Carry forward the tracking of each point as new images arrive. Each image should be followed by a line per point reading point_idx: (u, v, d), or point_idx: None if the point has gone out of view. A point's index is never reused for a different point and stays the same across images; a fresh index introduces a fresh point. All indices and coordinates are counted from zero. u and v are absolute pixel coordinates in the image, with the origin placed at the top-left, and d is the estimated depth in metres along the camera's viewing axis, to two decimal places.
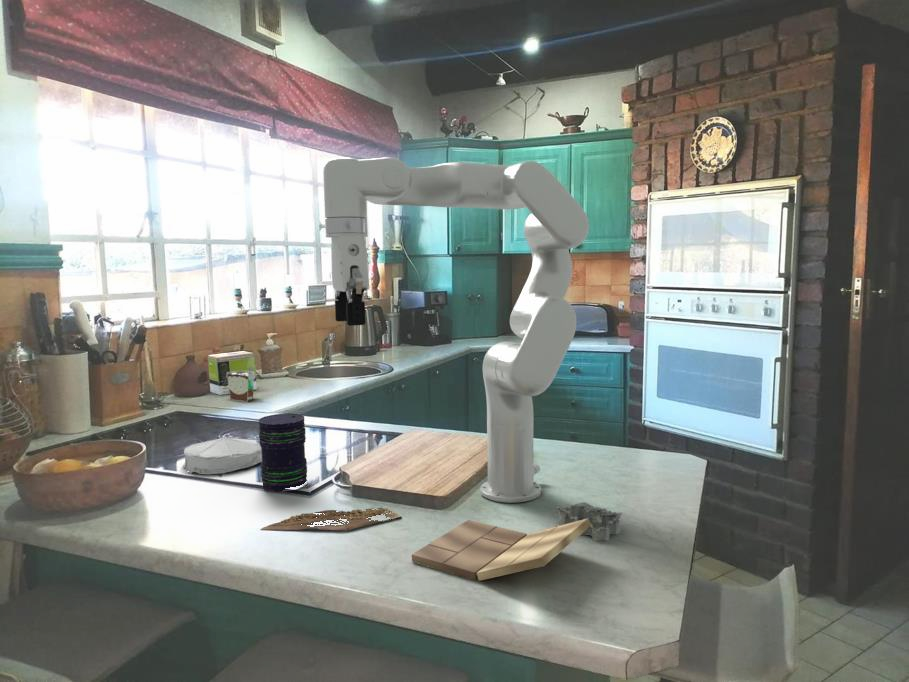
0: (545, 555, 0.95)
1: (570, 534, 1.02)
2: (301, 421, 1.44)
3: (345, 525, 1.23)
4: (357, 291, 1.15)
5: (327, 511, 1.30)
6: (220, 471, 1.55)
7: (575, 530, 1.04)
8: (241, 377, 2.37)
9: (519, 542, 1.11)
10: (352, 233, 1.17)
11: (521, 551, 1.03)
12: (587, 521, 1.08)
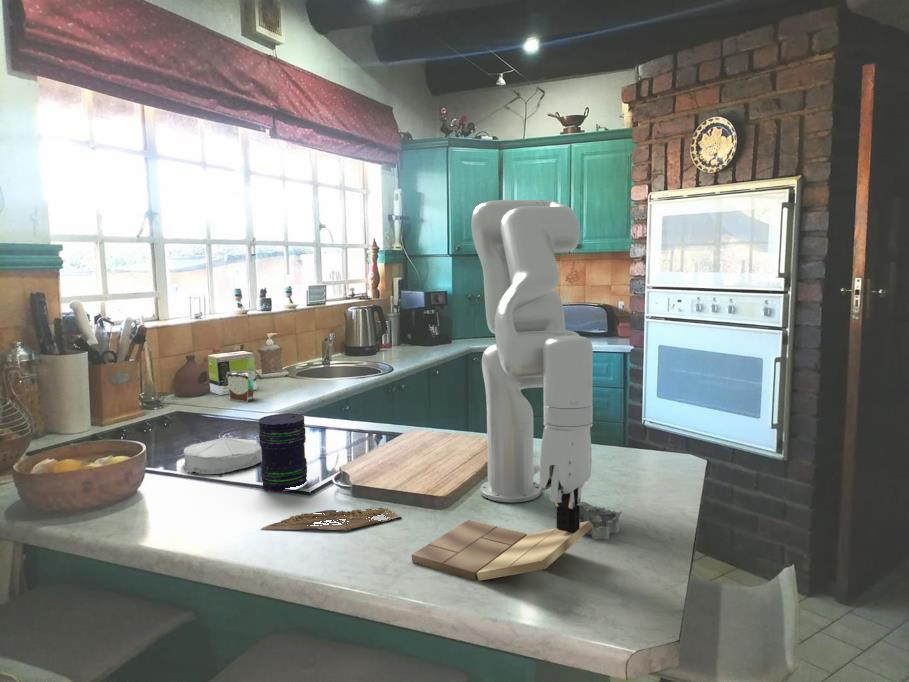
0: (546, 558, 0.95)
1: (571, 537, 1.02)
2: (301, 421, 1.44)
3: (345, 525, 1.22)
4: None
5: (327, 511, 1.30)
6: (220, 471, 1.55)
7: (576, 533, 1.04)
8: (241, 377, 2.37)
9: (519, 542, 1.11)
10: None
11: (521, 552, 1.03)
12: (588, 524, 1.08)
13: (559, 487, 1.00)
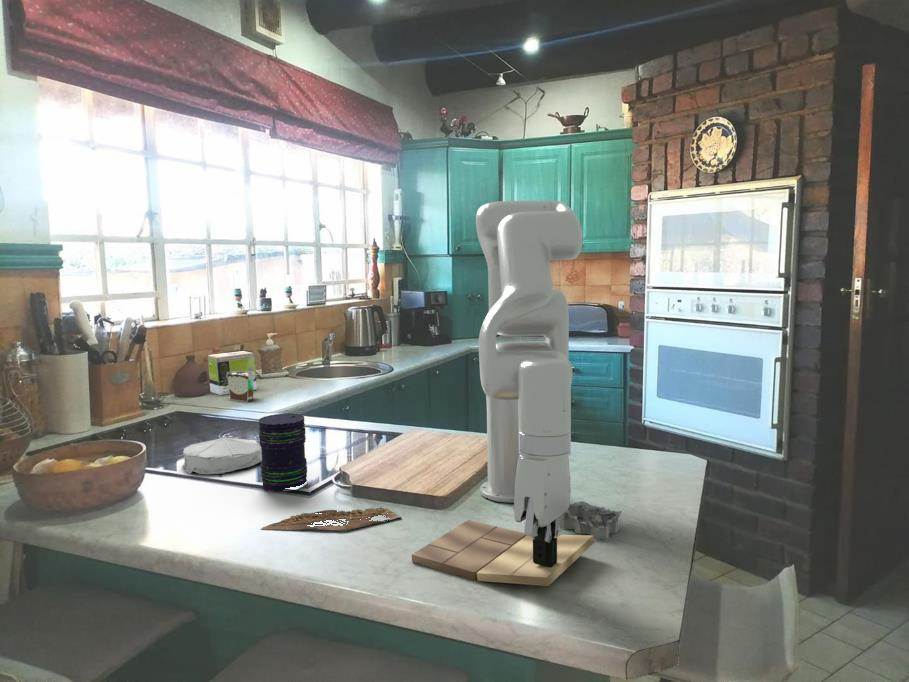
0: (550, 575, 0.95)
1: (575, 552, 1.02)
2: (301, 421, 1.44)
3: (345, 525, 1.22)
4: None
5: (327, 511, 1.30)
6: (219, 471, 1.55)
7: (580, 548, 1.04)
8: (241, 377, 2.37)
9: (519, 543, 1.11)
10: None
11: (523, 558, 1.03)
12: (592, 538, 1.08)
13: (534, 520, 0.94)
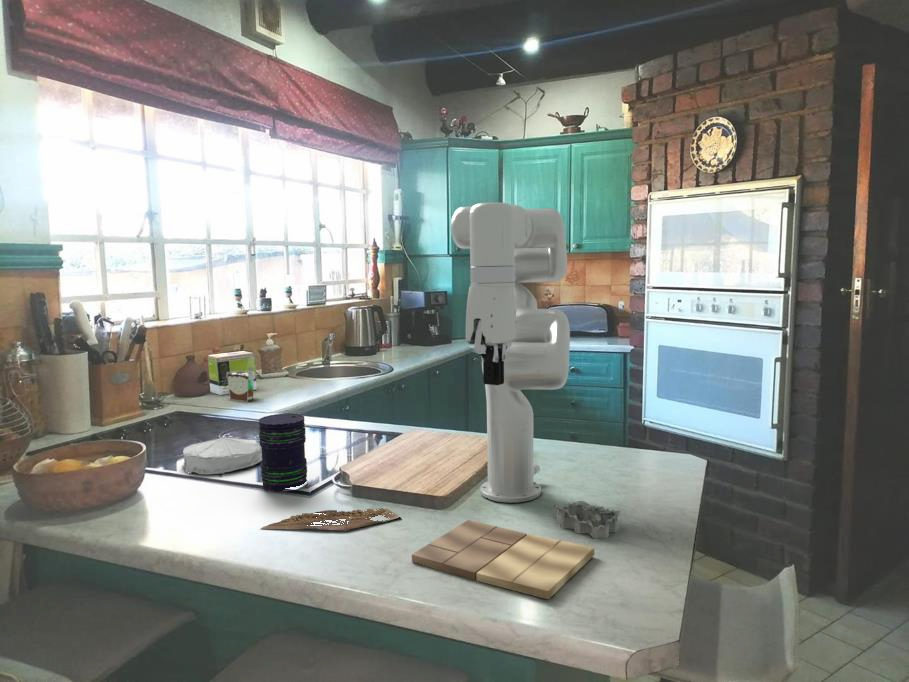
0: (552, 588, 0.95)
1: (576, 565, 1.02)
2: (301, 421, 1.44)
3: (344, 525, 1.22)
4: None
5: (327, 511, 1.30)
6: (219, 471, 1.55)
7: (581, 560, 1.04)
8: (241, 377, 2.37)
9: (519, 544, 1.11)
10: None
11: (524, 563, 1.03)
12: (593, 550, 1.08)
13: (482, 339, 1.10)
